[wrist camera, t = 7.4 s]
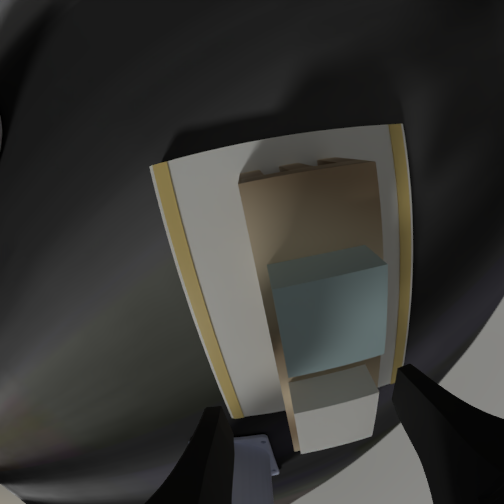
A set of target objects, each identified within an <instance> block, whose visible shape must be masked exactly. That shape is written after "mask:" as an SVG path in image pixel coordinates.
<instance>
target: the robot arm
mask: <svg viewBox="0 0 504 504" xmlns="http://www.w3.org/2000/svg"><path fill="white" fill-rule="evenodd" d="M392 401H393V404H394V406H395V409H396V412H397V414H398V417H399V419H400V421H401V423H402V425H403V427H404V429H405V431H406V433H407V434H408V437H409V439H410V440H411V442H412V444H413V446H414V448H415V450H416V452H417V454H418V456H419V458H420V461H421V463H422V466H423V469H424V472H425V475H426V478H427V481H428V484H429V488H430V492H431V495H432V500H433V504H504V419H502V418H499V417H496V416H493V415H491V414H488V413H486V412H483V411H482V410H479V409H477V408H475V407H473V406H471V405H469V404H468V403H466V402H464V401H462V400H461V399H459V398H457V397H456V396H454V395H453V394H451V393H450V392H448V391H447V390H445V389H444V388H443V387H441V386H440V385H438V384H437V383H435V382H434V381H433V380H431V379H430V378H429V377H427V376H426V375H425V374H423V373H422V372H421V371H419V370H418V369H417V368H416V367H414V366H413V365H411V364H408V365H405V366H402V367H399V368H397V374H396V380H395V386H394V391H393V396H392ZM277 474H279V469H278V466H277V463H276V460H275V457H274V454H273V451H272V448H271V445H270V442H269V439H268V436H267V435H265V434H261V435H253V436H244V437H235V438H234V435H233V432H232V429H231V427H230V425H229V423H228V420H227V418H226V416H225V414H224V411H223V409H222V407H221V406H217V407H207V408H206V409H205V410H204V412H203V415H202V417H201V419H200V422H199V424H198V426H197V428H196V430H195V432H194V434H193V436H192V438H191V440H190V441H189V443H188V446H187V448H186V449H185V451H184V453H183V455H182V456H181V458H180V459H179V461H178V463H177V464H176V466H175V467H174V469H173V470H172V472H171V473H170V475H169V476H168V477H167V479H166V480H165V481H164V483H163V484H162V485H161V486H160V487H159V489H158V490H157V491H156V492H155V493H154V494H153V495H152V496H151V498H150V499H149V500H148V501H147V502H146V503H145V504H274V502H273V490H272V478H271V476H272V475H277Z"/></svg>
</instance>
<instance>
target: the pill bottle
mask: <svg viewBox="0 0 504 504" xmlns="http://www.w3.org/2000/svg"><path fill="white" fill-rule="evenodd" d="M1 143H2V122H1V117H0V150H1Z"/></svg>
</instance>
